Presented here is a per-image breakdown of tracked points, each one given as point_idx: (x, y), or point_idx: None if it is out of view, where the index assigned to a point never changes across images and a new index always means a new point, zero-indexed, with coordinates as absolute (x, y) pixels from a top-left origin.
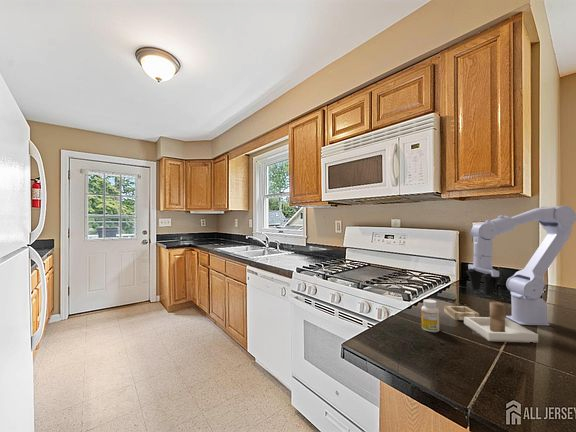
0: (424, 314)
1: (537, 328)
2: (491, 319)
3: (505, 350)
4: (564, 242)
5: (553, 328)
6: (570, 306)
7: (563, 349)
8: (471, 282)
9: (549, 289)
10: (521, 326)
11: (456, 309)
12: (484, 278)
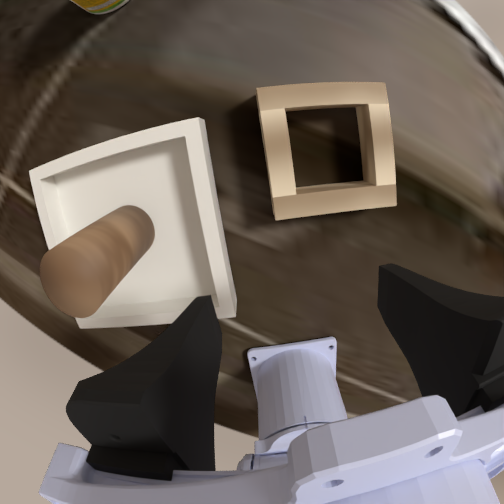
0: None
1: (227, 376)
2: (97, 220)
3: (9, 193)
4: None
5: (241, 409)
6: None
7: (77, 345)
8: (421, 282)
9: None
10: (137, 322)
11: (367, 140)
12: (101, 380)
